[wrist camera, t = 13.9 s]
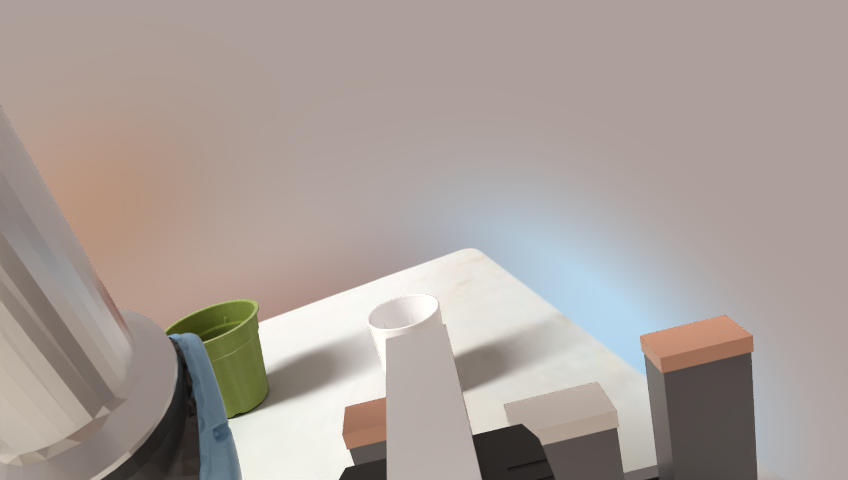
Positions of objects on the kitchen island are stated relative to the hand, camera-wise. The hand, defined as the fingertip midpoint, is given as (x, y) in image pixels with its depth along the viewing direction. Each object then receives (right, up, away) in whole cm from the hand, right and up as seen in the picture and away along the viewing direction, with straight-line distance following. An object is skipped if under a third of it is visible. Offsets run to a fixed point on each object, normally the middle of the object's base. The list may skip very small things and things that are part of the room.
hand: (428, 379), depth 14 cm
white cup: (0, -13, +50) cm, 51 cm away
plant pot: (-23, -17, +56) cm, 63 cm away
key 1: (+19, -16, +23) cm, 34 cm away
